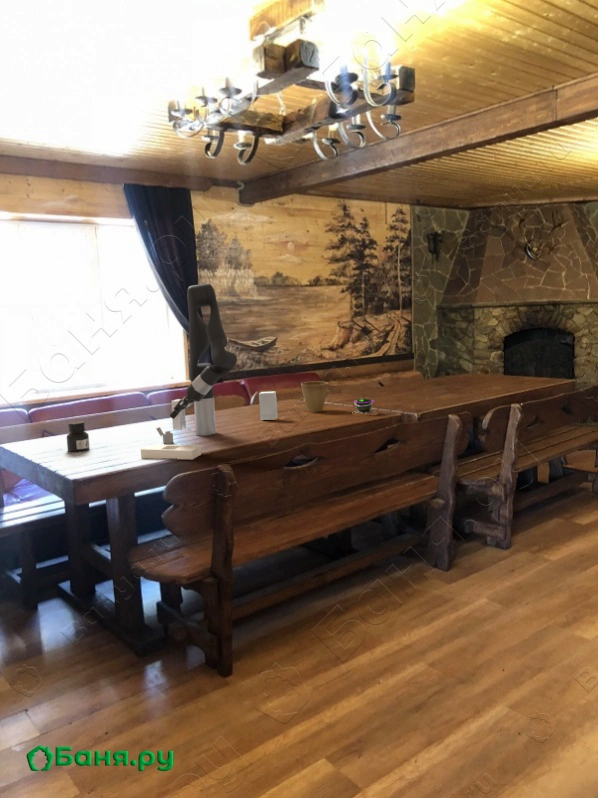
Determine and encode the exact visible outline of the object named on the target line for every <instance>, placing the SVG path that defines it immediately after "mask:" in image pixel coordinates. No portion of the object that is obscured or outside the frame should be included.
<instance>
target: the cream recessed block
mask: <svg viewBox="0 0 598 798" xmlns="http://www.w3.org/2000/svg"><path fill="white" fill-rule="evenodd" d="M201 455H202V446H201V445H187V444H186V445H184V444H183V445H181V444H179V445H178V444H150V445H149V444H148V445H147V446H145V447H142V448H141V449H140V458H141V459H160V458H177V459H176V460H190V461H191V460H194V459H196V458H198V457H199V456H201Z"/></svg>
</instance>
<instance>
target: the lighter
mask: <svg viewBox="0 0 598 798" xmlns="http://www.w3.org/2000/svg"><path fill="white" fill-rule="evenodd" d="M155 429H156V431H157V432H158V435H159V436H161V437H162V444H163V443H168V444H172V443H171V442H173V443H174V433H173V432H172V431H170V430H168V431H167V430H165V432H163V430H162V428H161V426H159V425H158V426H156V427H155Z"/></svg>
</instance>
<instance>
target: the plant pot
mask: <svg viewBox="0 0 598 798" xmlns="http://www.w3.org/2000/svg"><path fill="white" fill-rule="evenodd" d="M300 386H301V392H302V395H303V400H304V403H305V405H306V408H307V410H308V412H309V411H313V412H312V413H317V412H316V411H321V412H322V411H323V409H324V407H325V403H326V397H327V393H328V386H329V383H328V382H326V381H320V380H319V381H318V380H317V381H306V382H305V381H304V382H301V383H300Z"/></svg>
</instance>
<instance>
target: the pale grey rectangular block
mask: <svg viewBox="0 0 598 798" xmlns="http://www.w3.org/2000/svg"><path fill="white" fill-rule="evenodd" d="M180 400H181V399H180V398H177V399H174V400H173V399H172V400H171V413H172V412H173V411H174V407H175V406H176V405H177V404H178V402H179V401H180ZM183 407H184V406H183ZM178 409H179V408H178ZM171 419H172V418H171ZM185 428H187V424H186V410H185V409H184V410H182V411H181V412H180V413H179V414H178V415H177V416H176V417H175V418H174V419H172V430H174V431H181V430H182V431H183V429H185Z"/></svg>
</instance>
